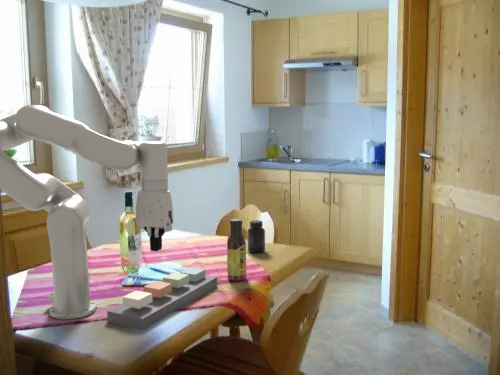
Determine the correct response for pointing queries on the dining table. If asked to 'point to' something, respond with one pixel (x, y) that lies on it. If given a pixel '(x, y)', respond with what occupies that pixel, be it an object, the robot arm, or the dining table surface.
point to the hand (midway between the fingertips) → (156, 249)
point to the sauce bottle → (236, 252)
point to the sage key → (176, 279)
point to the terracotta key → (158, 288)
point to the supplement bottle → (256, 237)
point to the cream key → (137, 299)
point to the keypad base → (161, 305)
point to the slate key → (194, 274)
